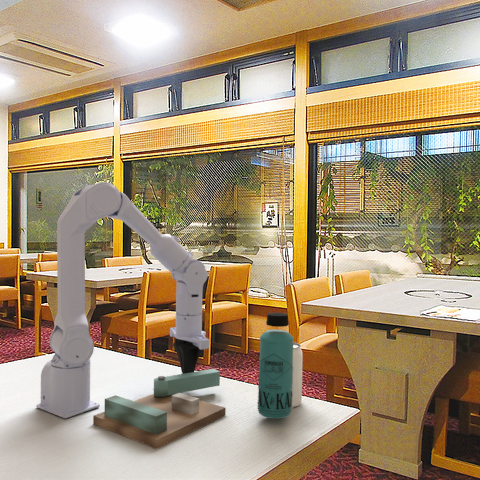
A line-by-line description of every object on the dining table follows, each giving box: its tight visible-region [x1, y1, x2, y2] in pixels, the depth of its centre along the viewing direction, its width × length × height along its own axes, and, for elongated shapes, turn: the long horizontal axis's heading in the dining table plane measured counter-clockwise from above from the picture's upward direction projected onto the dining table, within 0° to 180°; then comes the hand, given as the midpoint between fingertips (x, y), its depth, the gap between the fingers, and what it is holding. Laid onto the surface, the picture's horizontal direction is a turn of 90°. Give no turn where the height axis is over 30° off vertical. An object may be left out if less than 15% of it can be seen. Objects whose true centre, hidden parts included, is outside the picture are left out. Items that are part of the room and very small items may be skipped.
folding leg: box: [153, 368, 221, 397], centre depth 103 cm, size 14×3×4 cm, turn 124°
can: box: [291, 341, 304, 409], centre depth 101 cm, size 6×6×12 cm
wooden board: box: [92, 393, 227, 450], centre depth 92 cm, size 16×18×4 cm
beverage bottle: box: [256, 312, 295, 419], centre depth 92 cm, size 6×7×20 cm
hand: (187, 374), depth 110 cm, fingers closed
